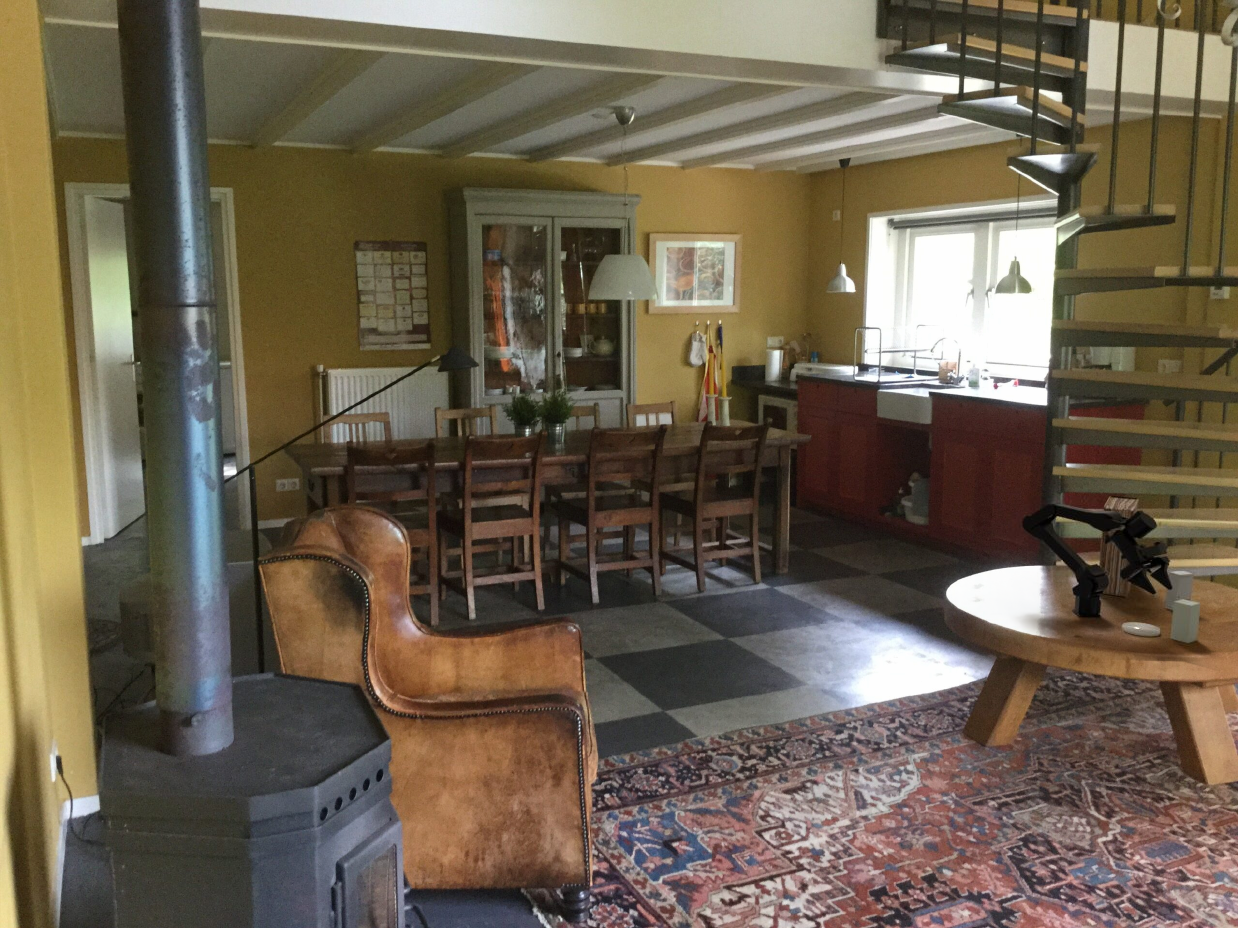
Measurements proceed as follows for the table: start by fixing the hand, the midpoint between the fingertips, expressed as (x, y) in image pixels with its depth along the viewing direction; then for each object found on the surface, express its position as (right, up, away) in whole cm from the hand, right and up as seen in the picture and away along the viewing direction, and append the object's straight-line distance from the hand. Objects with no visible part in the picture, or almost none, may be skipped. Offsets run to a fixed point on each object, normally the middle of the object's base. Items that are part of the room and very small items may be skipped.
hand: (1163, 591), depth 304 cm
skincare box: (+19, -9, +27) cm, 34 cm away
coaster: (-5, -12, +3) cm, 13 cm away
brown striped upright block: (+11, -5, +52) cm, 54 cm away
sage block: (+4, -13, -4) cm, 14 cm away
